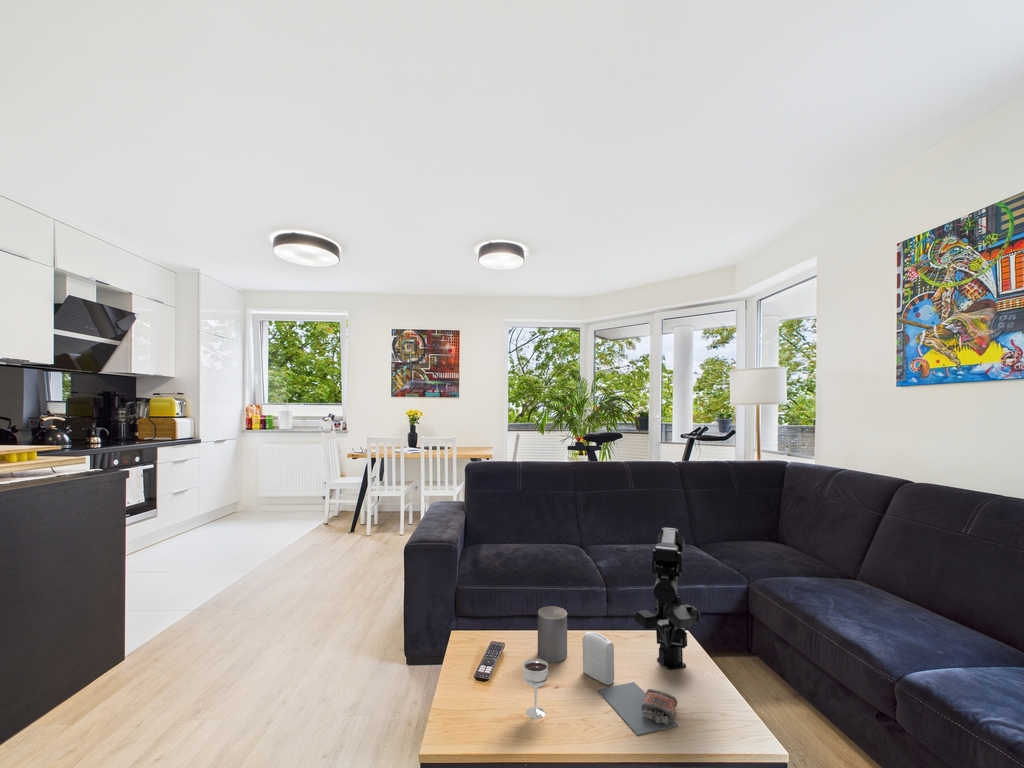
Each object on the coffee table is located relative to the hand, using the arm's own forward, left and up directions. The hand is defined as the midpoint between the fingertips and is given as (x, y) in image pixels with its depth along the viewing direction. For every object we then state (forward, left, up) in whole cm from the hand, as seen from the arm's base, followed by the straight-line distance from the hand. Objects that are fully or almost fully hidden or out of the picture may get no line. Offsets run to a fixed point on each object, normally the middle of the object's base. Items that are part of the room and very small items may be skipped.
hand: (667, 646), depth 135 cm
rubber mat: (+13, +4, -12) cm, 18 cm away
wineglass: (+40, -2, -12) cm, 42 cm away
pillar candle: (+24, -28, -12) cm, 39 cm away
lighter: (+6, +5, -10) cm, 13 cm away
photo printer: (+16, -12, -12) cm, 23 cm away
